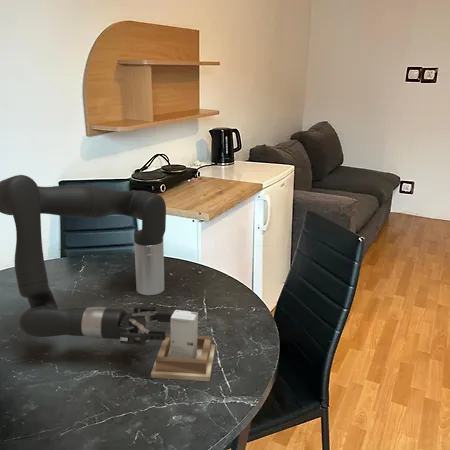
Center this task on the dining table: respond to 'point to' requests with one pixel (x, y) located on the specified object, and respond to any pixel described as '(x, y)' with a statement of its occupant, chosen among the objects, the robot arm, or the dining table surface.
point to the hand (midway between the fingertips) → (168, 326)
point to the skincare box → (183, 334)
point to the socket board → (185, 362)
